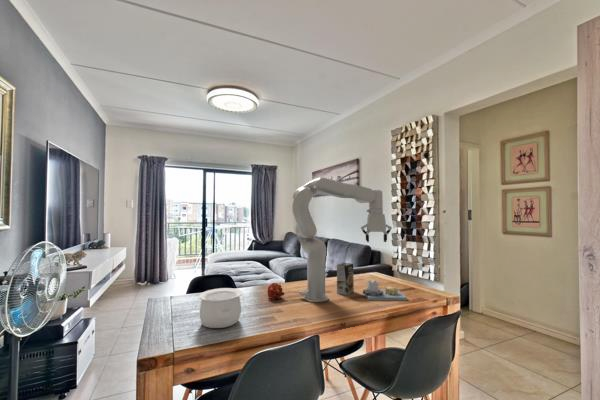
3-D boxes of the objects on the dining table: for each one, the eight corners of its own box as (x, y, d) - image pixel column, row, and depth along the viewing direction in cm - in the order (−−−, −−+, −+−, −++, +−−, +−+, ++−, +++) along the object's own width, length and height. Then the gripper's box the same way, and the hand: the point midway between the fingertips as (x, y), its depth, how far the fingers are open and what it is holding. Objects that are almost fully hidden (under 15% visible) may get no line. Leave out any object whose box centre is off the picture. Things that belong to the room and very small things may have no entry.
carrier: (368, 300, 147) (368, 283, 147) (363, 292, 161) (362, 277, 161) (407, 300, 146) (406, 283, 147) (398, 292, 160) (398, 277, 161)
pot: (196, 317, 124) (196, 289, 125) (235, 311, 131) (236, 285, 132) (201, 337, 104) (201, 304, 105) (247, 329, 111) (247, 298, 112)
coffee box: (346, 295, 156) (346, 266, 156) (336, 293, 159) (336, 264, 160) (354, 291, 163) (353, 263, 163) (344, 289, 167) (344, 262, 167)
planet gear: (364, 296, 149) (364, 284, 149) (361, 290, 159) (360, 279, 159) (385, 296, 148) (385, 284, 149) (380, 290, 159) (380, 279, 159)
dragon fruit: (273, 297, 158) (279, 307, 147) (261, 290, 155) (266, 299, 144) (282, 284, 159) (288, 293, 148) (270, 277, 156) (276, 285, 145)
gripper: (361, 211, 158) (362, 242, 157) (393, 211, 157) (393, 242, 156) (359, 211, 165) (360, 241, 165) (389, 211, 164) (390, 241, 164)
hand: (376, 241), depth 160 cm, fingers open, 9 cm apart
